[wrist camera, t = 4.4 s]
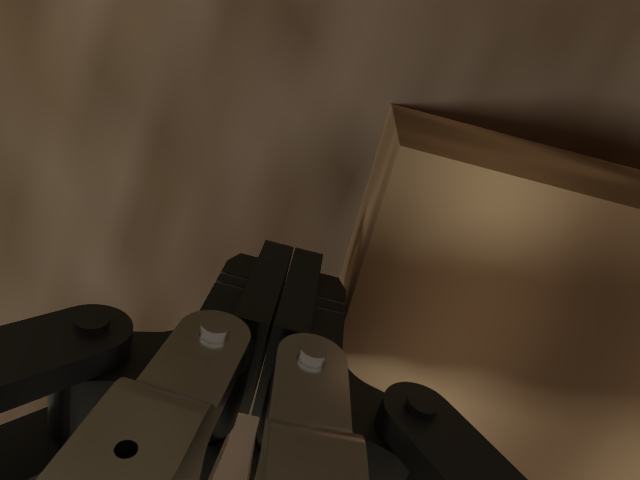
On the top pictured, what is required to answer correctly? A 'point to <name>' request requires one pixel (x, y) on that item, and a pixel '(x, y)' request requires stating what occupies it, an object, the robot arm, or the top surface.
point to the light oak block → (503, 291)
